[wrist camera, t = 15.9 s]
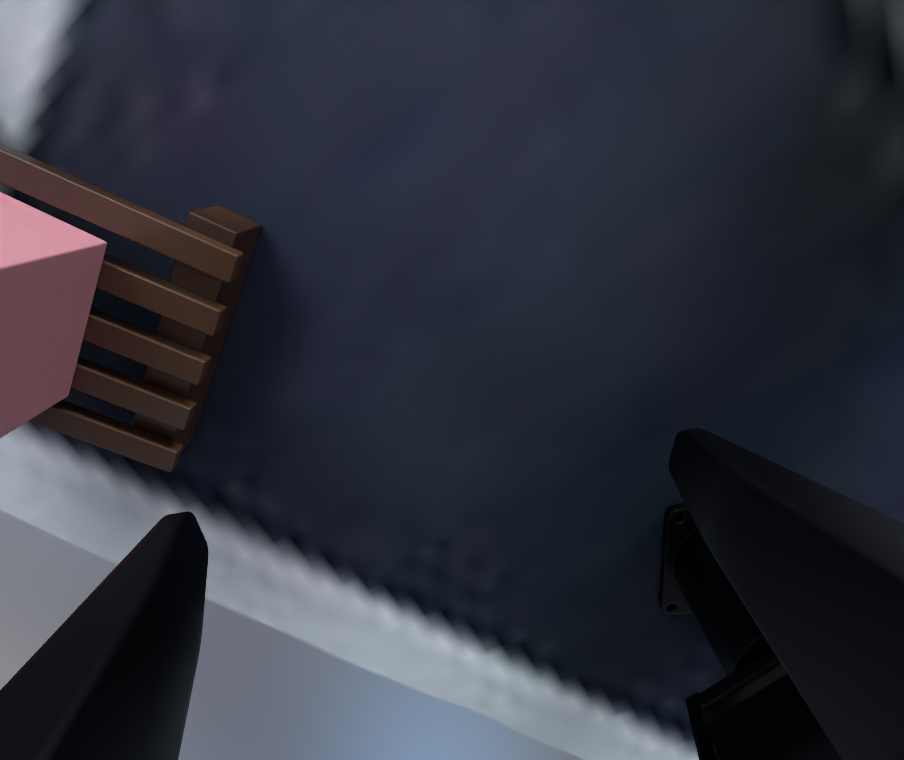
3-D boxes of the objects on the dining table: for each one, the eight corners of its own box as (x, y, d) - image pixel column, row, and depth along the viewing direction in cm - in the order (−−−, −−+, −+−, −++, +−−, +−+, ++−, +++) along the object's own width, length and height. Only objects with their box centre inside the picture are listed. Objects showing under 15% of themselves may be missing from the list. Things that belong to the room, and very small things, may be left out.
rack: (272, 229, 19) (242, 241, 16) (202, 443, 22) (167, 483, 20) (-83, 64, 17) (-189, 45, 14) (-98, 330, 20) (-185, 356, 17)
